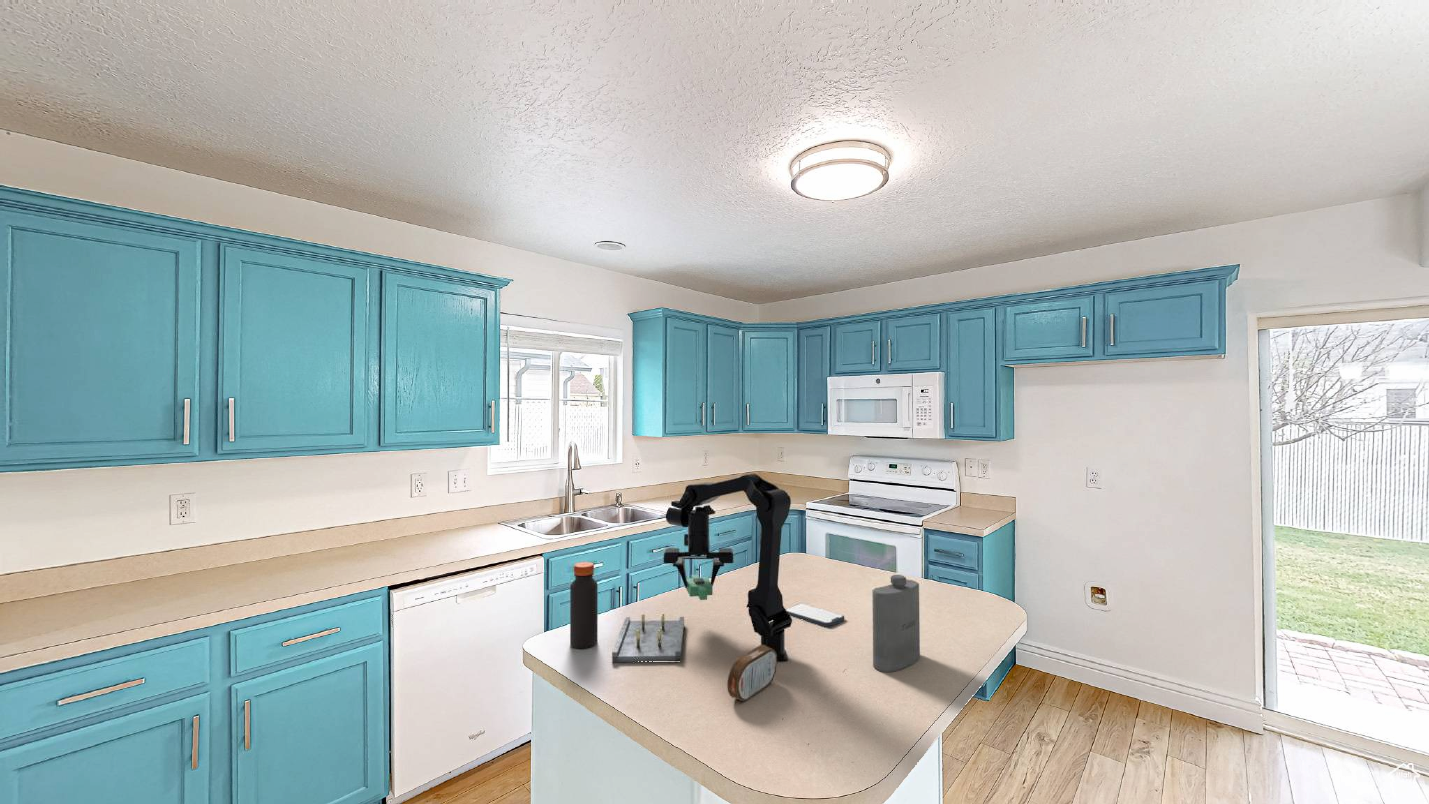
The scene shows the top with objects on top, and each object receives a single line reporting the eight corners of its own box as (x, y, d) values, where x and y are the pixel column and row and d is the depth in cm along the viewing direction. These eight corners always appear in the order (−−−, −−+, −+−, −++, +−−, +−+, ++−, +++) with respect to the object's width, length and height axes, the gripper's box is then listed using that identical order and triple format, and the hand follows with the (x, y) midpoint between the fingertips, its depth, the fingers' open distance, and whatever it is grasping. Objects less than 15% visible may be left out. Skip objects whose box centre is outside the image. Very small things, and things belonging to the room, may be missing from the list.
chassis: (680, 662, 129) (680, 639, 129) (612, 663, 129) (612, 639, 129) (684, 625, 151) (684, 606, 151) (625, 626, 151) (625, 606, 151)
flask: (890, 676, 122) (889, 585, 123) (868, 666, 127) (867, 579, 127) (927, 657, 132) (926, 573, 132) (905, 649, 136) (904, 567, 136)
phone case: (782, 615, 161) (828, 630, 149) (782, 610, 161) (828, 623, 149) (800, 608, 167) (846, 621, 155) (800, 602, 167) (846, 615, 155)
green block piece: (715, 599, 143) (715, 587, 144) (692, 600, 142) (692, 588, 142) (704, 582, 157) (704, 571, 157) (683, 584, 156) (683, 573, 156)
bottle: (590, 650, 136) (590, 568, 136) (565, 648, 137) (565, 567, 138) (601, 639, 142) (601, 561, 143) (577, 637, 144) (577, 560, 144)
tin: (767, 676, 122) (767, 638, 122) (779, 680, 120) (779, 642, 120) (725, 704, 111) (725, 662, 111) (738, 709, 109) (738, 666, 109)
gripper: (732, 523, 158) (732, 578, 158) (667, 523, 158) (667, 578, 158) (733, 532, 147) (733, 591, 147) (663, 532, 147) (663, 591, 147)
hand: (698, 587), depth 150 cm, fingers closed on green block piece, 6 cm apart
